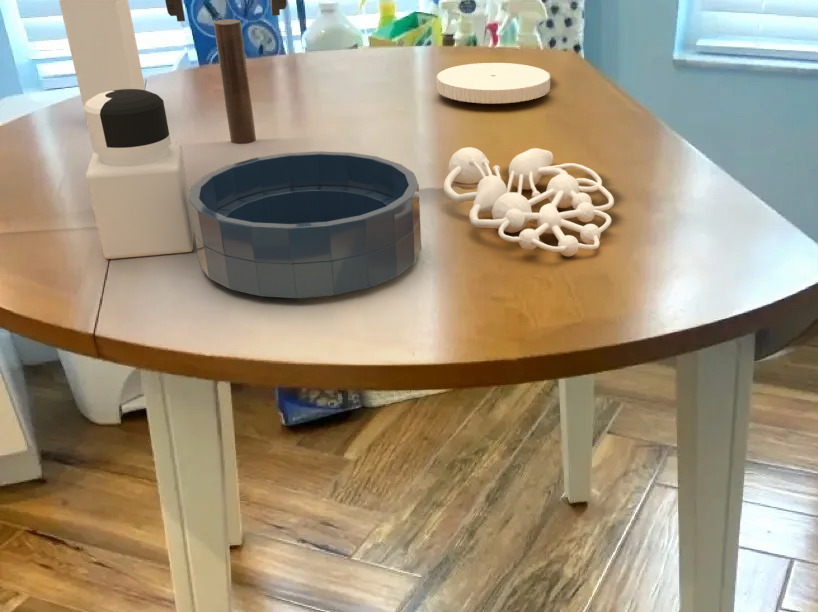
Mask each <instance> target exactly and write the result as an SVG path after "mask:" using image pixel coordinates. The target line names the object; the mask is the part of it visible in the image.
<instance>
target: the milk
mask: <svg viewBox="0 0 818 612" xmlns="http://www.w3.org/2000/svg"><path fill="white" fill-rule="evenodd" d="M58 3H59V6H60V11H61V15H62V20H63V23H64V28H65V33H66V36H67V42H68V46H69V49H70V54H71V59H72V63H73V68H74V72H75V76H76V81H77V85H78V89H79V95H80V98H81V102H82V108H84V106H85V104H86V102H87V101H88V100H89V99H91V98H92V97H94V96H96V95H98V94H100V93H103V92H107V91H113V90H121V89H140V90H146V85H145V82H144V81H145V80H144V76H143V70H142V66H141V61H140V55H139V50H138V45H137V38H136V34H135V29H134V24H133V19H132V14H131V7H130V3H129V0H58Z"/></svg>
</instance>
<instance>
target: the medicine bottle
mask: <svg viewBox="0 0 818 612" xmlns="http://www.w3.org/2000/svg"><path fill="white" fill-rule="evenodd" d="M83 111H84V116H85V119H86V125H87V131H88V134H89V138H90V143H91V148H92V155H91V158H90V160H89V164H88V166H87V169H86V172H85V181H86V186H87V189H88V194H89V198H90V203H91V207H92V211H93V216H94V219H95V220H94V221H95V224H96V228H97V232H98V237H99V240H100V245H101V249H102V253H103V257H104V258H105V259H106V260H115V259H127V258H138V257H148V256H160V255H170V254H182V253H191V252H193V250H194V241H195V240H194V239H195V233H194V228H193V223H192V217H191V211H190V206H189V195H190V187H189V182H188V181H189V180H188V176H187V170H186V165H185V159H184V152H183V148H182V144H180V143H179V142H172V141H171V136H170V130H169V124H168V118H167V113H166V107H165V101H164V99H163V98H162V97H161V96H160V95H158V94H157V93H154V92H152V91H149V90H146V89H145V90H140V89H121V90H113V91H107V92H103V93H100V94H98V95H96V96H94V97H92V98H91V99H89V100H88V101H87V102H86V104H85V106H84V107H83Z"/></svg>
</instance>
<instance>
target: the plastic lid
mask: <svg viewBox="0 0 818 612" xmlns="http://www.w3.org/2000/svg"><path fill="white" fill-rule="evenodd" d="M550 90H551V74H550V72H549V71H547V70H545V69H543V68H540V67H537V66H533V65H532V66H531V65H527V64H522V63H511V62H510V63H509V62H482V63H481V62H478V63H468V64H460V65H456V66H452V67H449V68H446V69H443V70H441V71H439V72H438V73H437V75H436V91H437V93H438V94H439V95H440V96H442V97H444V98H447V99H450V100H454V101H458V102H467V103H473V104H474V103H476V104H488V105H489V104H493V105H494V104H510V103H513V104H514V103H520V102H525V101H526V102H527V101H531V100H532V101H533V99H534V100H536V99H540V97H544V96H545V95H547V94H549V92H550Z"/></svg>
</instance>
